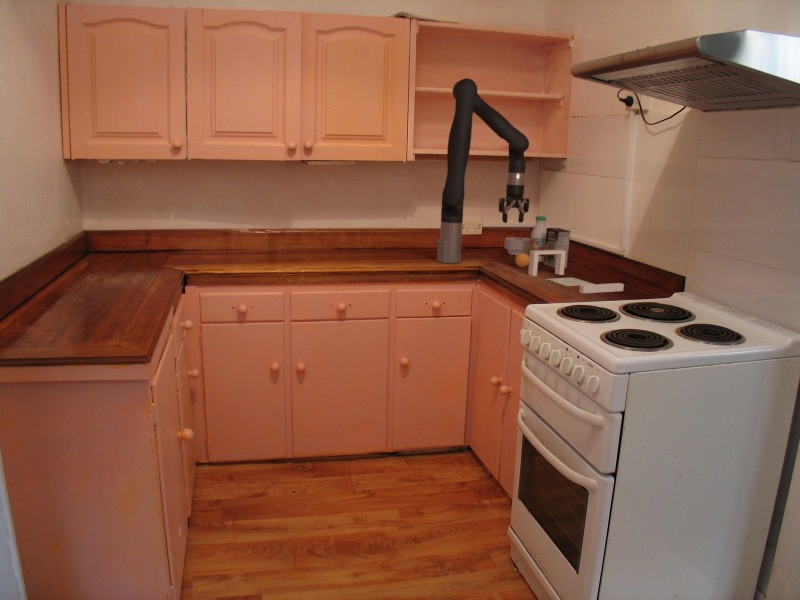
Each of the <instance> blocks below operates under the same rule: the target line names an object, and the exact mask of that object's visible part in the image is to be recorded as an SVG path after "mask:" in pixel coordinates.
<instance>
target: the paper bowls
mask: <svg viewBox="0 0 800 600" xmlns="http://www.w3.org/2000/svg"><path fill="white" fill-rule="evenodd" d="M530 239H531V237H520V236H518V237H514V236H513V237H511V236H510V237H505V238H504V243H503V245H504V247H503V248H504V249H506V250H507V253H508V254H509V255H510V256H513V255H515V256H514V257H516V256H517V255H518V254H520V253H525V254H527V255H528V256H529V249H530Z"/></svg>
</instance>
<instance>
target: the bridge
mask: <svg viewBox="0 0 800 600" xmlns="http://www.w3.org/2000/svg"><path fill="white" fill-rule="evenodd" d="M540 254H557V257H556V268H554V269H555V270H554V274H556V275H559V276H560V275H561V276H562V275H565V274H564V273H565V268H564V265H565V255H566V251H565V250H530V258H529V264H528V274H529V275H528V274H527V275H528V276H531V275H532V276H531V277H537V275H538V264H539V262H538V256H539V255H540Z"/></svg>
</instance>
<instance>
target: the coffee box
mask: <svg viewBox="0 0 800 600" xmlns="http://www.w3.org/2000/svg"><path fill="white" fill-rule="evenodd" d="M546 229H547V231H546V242H545V250H565V251H566V255H565V265H564V269H566V268H567V265H568V257H569V247H570V239H571V237H570V236H571V230H569V229H565V228H561V227H546ZM556 257H557V254H544V262H543V265H544V266H547V267H551V268H553V269H555V268H556Z"/></svg>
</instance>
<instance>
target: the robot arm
mask: <svg viewBox="0 0 800 600" xmlns="http://www.w3.org/2000/svg"><path fill="white" fill-rule="evenodd" d="M452 97H453V98H454V99H455V108H454V109H455V110H454V116H453V120H452V123H451V127H450V128H449V129H450V130H449V134H448V142H447V149H446V150H447V153H446V155H447V157H446V159H447V160H446V161H447V163H446V164H447V173H446V180H445V183H444V188H443V190H442V194H441V208H440V209H441V210H440V213H441V215H440V231H439V234H440V236H439V238H438V239H437V250H436V251H437V252H436V253H437V255H436V261H437V262H439V263H442V264H460V263H461V255H462V253H461V252H462V241H463V240H462V239H463V221H464V201H465V196H466V195H465V180H466V179H465V177H466V170H467V166H468V162H469V157H470V150H471V144H472V143H471V142H472V134H473V133H472V130H473V115H474V114H476V115H475V116H477V117H478V118H480V119H481V121H482V122H483V123H484V124H486V125H487V126H488V128H490V130H492V131H493V132H494V134H496V136H497V137H499V138H500V139H502V140H504V141H505V142H506V143H507V144H508V171H507V177H506V188H505V189H506V190H505V195H506V196H505V197H499V200H498V212H499V213H501V214H502V219H501V220H502V223H504V224H507V223H508V215H509V214H508V213H509V211H510V210H512V209H515V208H516V209H517V211H518V213H519V214H518V223H520V224H521V223H523V222H524V219H525V218H524V217H525V214H526V213H528V212H529V210H530V209H529V208H530V198H529V197H528V198H527V197H524V195H525V185H526V166H527V164H526V160H525V152H526V151H527V150H528V149H529V147H530V141H529V139H528V138H527V136H526V135H525V134H524V133H523V132H521V130H520V129H519V130H518V128H516V127H514V125H512V123H511V122H510V121H509V120H508V119H507V118H505V116H503V114H502V113H500V112H499V111H498V110H496V109H495V108H494V107H493V106H491V105H490V104H488V102H486V101H485V100H484V99H483V98H482V97H481V96H480V95H479V93H478V86H477V83H476V82H475V81H474V80H473V79H472V78H462V79H460V80H458V81H457V82H455V84H454V85H453V87H452ZM505 203H506V204H505ZM459 262H460V263H459Z"/></svg>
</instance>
